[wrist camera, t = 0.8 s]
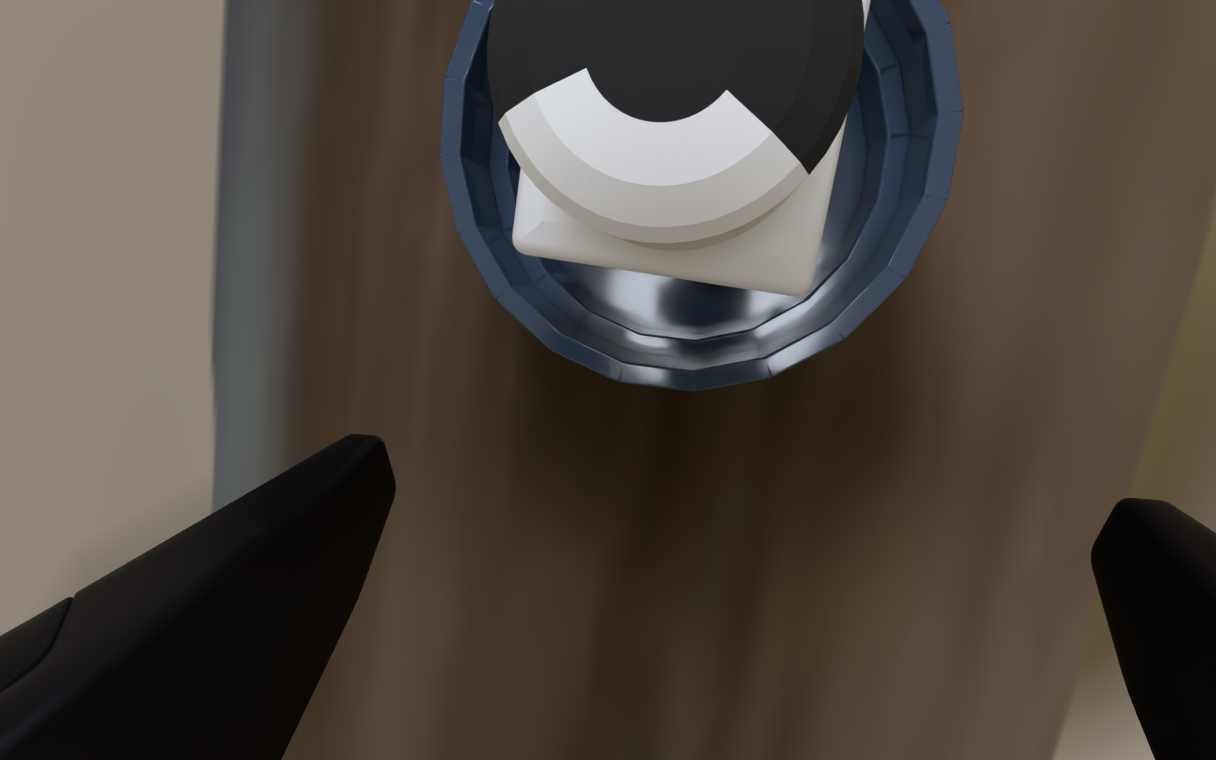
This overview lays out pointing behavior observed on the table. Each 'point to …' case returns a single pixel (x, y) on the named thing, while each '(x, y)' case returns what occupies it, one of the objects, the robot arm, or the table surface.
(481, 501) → the table surface
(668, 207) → the medicine bottle
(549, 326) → the blue round bowl
